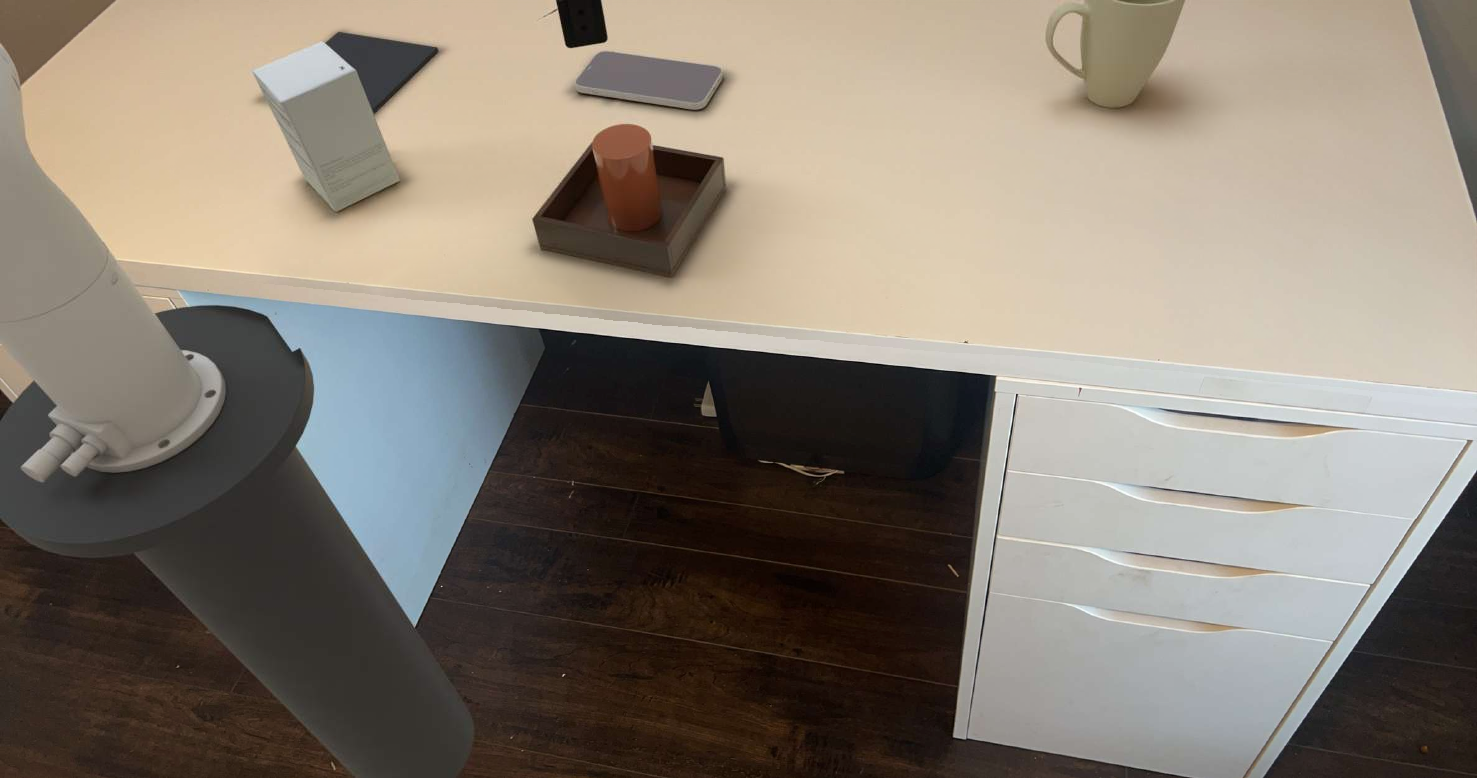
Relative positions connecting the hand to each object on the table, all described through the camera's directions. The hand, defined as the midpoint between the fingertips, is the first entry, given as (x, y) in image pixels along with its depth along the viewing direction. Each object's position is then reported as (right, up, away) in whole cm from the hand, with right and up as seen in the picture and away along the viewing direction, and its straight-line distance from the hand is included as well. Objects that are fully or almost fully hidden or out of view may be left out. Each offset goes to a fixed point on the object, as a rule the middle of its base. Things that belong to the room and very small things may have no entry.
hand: (580, 12), depth 77 cm
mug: (+49, 0, +23) cm, 54 cm away
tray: (+3, -13, +15) cm, 21 cm away
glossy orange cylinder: (+3, -13, +15) cm, 20 cm away
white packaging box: (-26, -9, +22) cm, 35 cm away
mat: (-32, +6, +35) cm, 48 cm away
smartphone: (+3, +4, +30) cm, 30 cm away
